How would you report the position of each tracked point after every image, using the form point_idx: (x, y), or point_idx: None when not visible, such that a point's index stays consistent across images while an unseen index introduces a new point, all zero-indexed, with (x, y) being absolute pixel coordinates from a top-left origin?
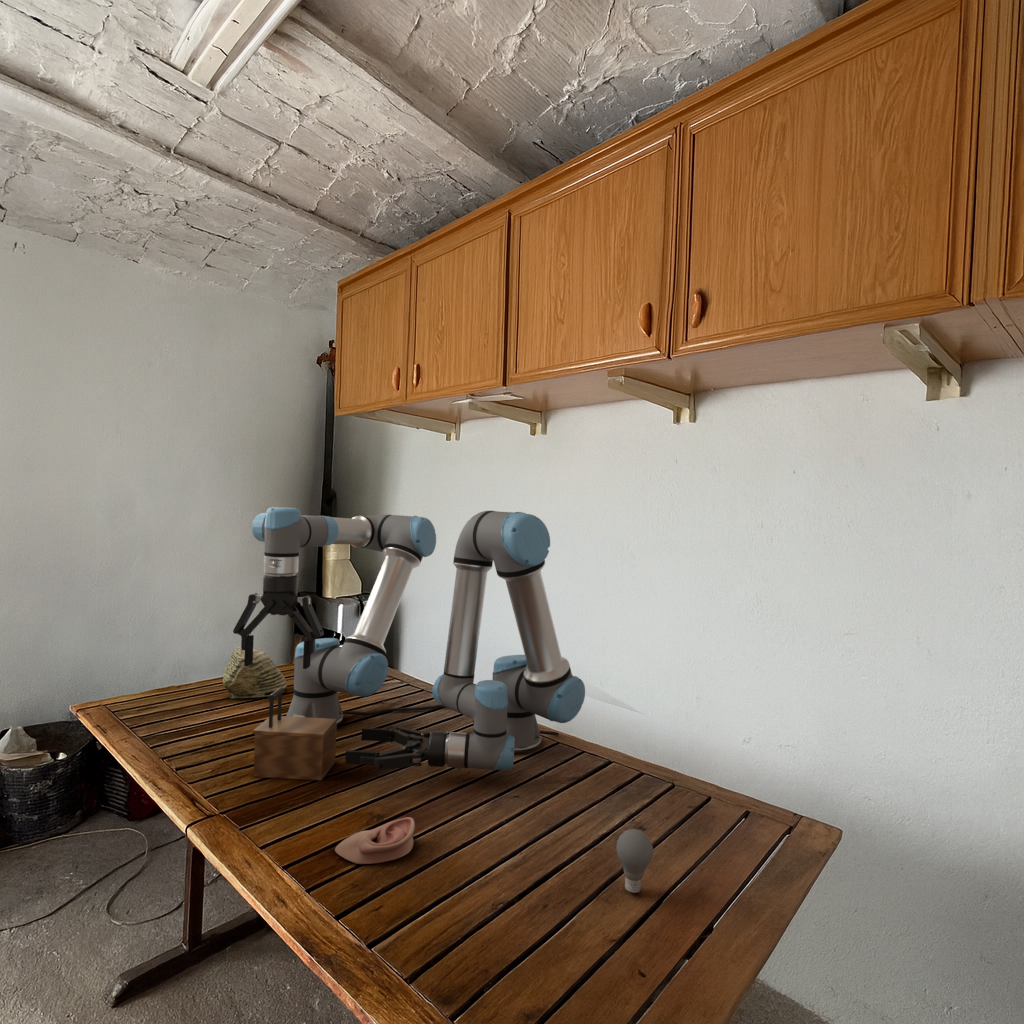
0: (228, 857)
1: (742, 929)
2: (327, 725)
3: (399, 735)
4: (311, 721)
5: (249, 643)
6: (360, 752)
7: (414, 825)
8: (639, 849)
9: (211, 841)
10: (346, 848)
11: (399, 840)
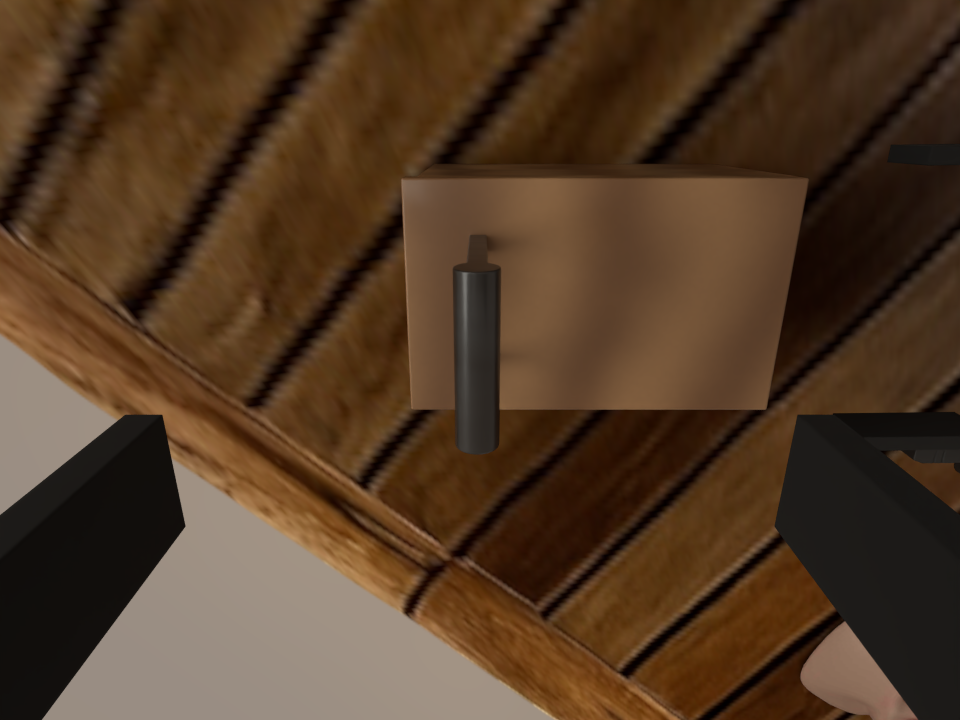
0: (566, 707)
1: None
2: (770, 292)
3: None
4: (668, 244)
5: (6, 711)
6: (923, 449)
7: None
8: None
9: (499, 663)
10: (834, 697)
11: None
